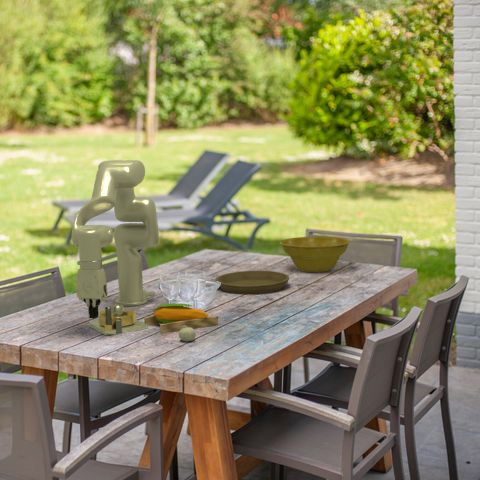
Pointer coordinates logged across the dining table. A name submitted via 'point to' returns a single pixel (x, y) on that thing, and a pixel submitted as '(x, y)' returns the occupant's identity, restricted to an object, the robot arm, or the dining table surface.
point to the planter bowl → (315, 252)
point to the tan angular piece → (109, 318)
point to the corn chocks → (182, 323)
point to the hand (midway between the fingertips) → (93, 317)
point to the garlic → (187, 334)
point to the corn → (177, 313)
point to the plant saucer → (252, 282)
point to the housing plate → (118, 323)
